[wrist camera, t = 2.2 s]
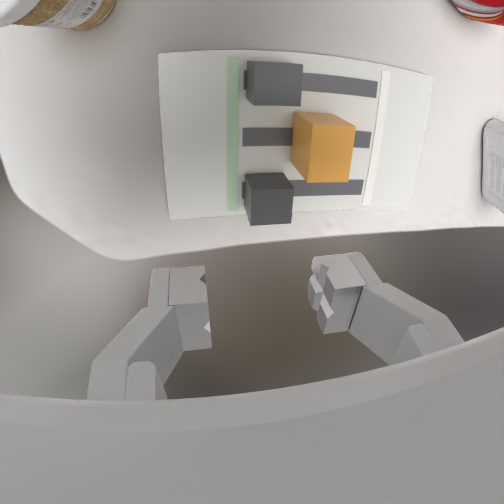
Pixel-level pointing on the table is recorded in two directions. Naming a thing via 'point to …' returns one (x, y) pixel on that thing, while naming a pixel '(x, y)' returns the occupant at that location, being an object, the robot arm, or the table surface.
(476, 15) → the soda can
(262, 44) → the table surface
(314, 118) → the orange handle
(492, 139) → the photo printer
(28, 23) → the sprinkles bottle
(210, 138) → the white slider board
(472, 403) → the robot arm
